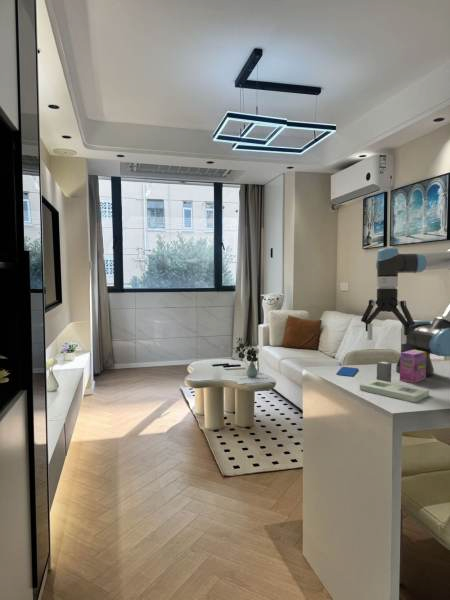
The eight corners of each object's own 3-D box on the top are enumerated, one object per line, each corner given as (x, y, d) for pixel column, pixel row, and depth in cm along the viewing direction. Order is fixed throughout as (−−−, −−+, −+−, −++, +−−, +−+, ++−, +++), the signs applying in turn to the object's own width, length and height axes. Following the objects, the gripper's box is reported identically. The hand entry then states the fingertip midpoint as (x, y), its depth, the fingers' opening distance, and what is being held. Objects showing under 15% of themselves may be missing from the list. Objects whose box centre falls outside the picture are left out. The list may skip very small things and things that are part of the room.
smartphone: (335, 374, 169) (342, 366, 182) (335, 376, 169) (342, 368, 182) (353, 376, 165) (358, 368, 179) (353, 378, 166) (358, 370, 179)
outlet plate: (375, 384, 154) (375, 378, 154) (429, 395, 139) (429, 389, 139) (359, 389, 146) (359, 384, 146) (415, 402, 131) (415, 396, 131)
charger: (381, 380, 159) (381, 361, 159) (390, 382, 156) (391, 362, 156) (376, 382, 157) (377, 362, 156) (386, 384, 154) (386, 364, 153)
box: (412, 383, 155) (413, 354, 155) (399, 380, 160) (400, 351, 159) (426, 379, 161) (427, 351, 161) (412, 377, 166) (413, 349, 165)
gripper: (352, 287, 160) (352, 339, 161) (416, 288, 142) (415, 346, 143) (361, 287, 165) (361, 337, 166) (424, 288, 147) (423, 344, 148)
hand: (386, 341), depth 155 cm, fingers open, 13 cm apart
